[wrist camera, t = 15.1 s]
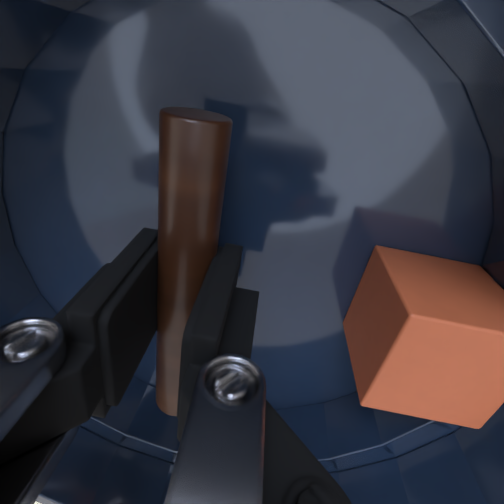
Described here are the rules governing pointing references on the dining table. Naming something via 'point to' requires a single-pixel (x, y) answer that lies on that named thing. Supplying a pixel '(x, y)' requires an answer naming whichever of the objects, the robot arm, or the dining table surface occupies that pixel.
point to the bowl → (260, 203)
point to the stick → (185, 227)
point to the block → (427, 338)
